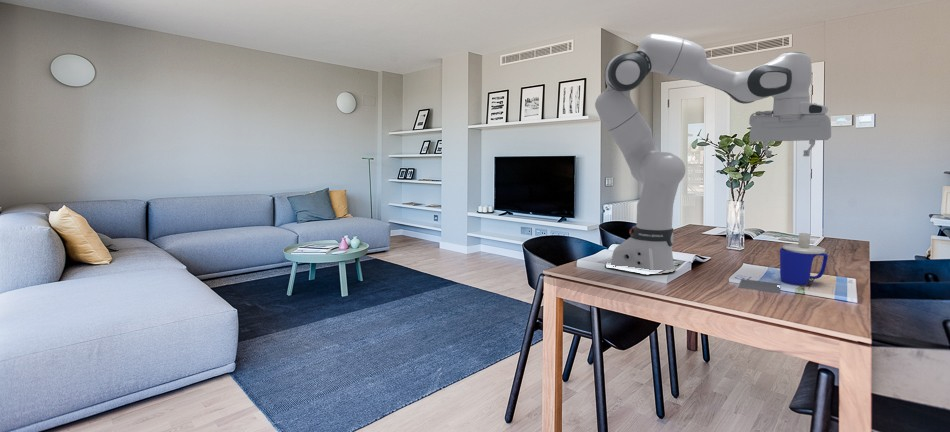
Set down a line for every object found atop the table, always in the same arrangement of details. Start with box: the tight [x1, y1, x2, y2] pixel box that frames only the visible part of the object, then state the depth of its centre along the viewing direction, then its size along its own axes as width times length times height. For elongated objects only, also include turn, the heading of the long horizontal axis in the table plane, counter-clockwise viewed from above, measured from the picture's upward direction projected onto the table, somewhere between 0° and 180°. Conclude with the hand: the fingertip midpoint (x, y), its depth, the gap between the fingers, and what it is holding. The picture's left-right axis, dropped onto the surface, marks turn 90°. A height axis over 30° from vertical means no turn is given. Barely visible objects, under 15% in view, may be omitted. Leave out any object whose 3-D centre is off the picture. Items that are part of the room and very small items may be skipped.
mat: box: [738, 278, 782, 294], centre depth 133 cm, size 10×10×1 cm
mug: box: [779, 247, 829, 286], centre depth 135 cm, size 8×12×10 cm
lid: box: [782, 232, 826, 254], centre depth 134 cm, size 10×10×5 cm
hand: (787, 156), depth 139 cm, fingers open, 8 cm apart
